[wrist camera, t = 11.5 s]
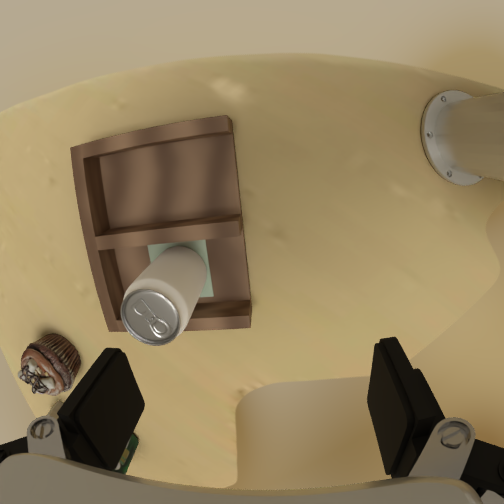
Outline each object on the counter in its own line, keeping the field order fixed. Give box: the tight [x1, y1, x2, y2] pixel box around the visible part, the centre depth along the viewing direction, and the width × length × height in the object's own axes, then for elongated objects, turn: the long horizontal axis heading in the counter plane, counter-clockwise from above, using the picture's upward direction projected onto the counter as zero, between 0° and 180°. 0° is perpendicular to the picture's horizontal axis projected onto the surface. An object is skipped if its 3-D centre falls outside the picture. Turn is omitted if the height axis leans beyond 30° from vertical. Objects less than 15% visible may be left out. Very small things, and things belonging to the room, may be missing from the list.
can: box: [121, 246, 207, 346], centre depth 32 cm, size 6×6×12 cm
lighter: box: [47, 401, 63, 420], centre depth 44 cm, size 7×2×8 cm, turn 133°
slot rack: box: [70, 115, 252, 332], centre depth 35 cm, size 18×23×5 cm
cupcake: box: [18, 334, 81, 396], centre depth 39 cm, size 10×10×10 cm
